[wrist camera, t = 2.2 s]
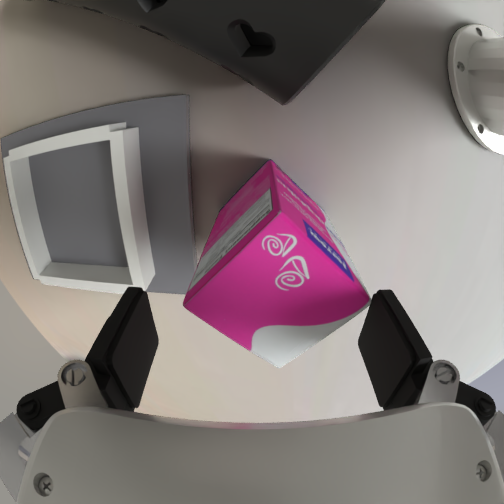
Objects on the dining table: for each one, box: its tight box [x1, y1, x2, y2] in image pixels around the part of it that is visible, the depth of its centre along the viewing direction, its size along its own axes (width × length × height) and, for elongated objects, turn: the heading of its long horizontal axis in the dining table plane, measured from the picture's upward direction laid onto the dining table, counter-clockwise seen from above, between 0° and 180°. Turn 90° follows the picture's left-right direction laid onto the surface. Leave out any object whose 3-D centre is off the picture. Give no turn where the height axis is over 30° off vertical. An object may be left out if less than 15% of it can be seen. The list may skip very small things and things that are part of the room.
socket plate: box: [1, 95, 197, 294], centre depth 19 cm, size 20×16×4 cm
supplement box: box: [183, 160, 371, 368], centre depth 16 cm, size 6×6×12 cm
